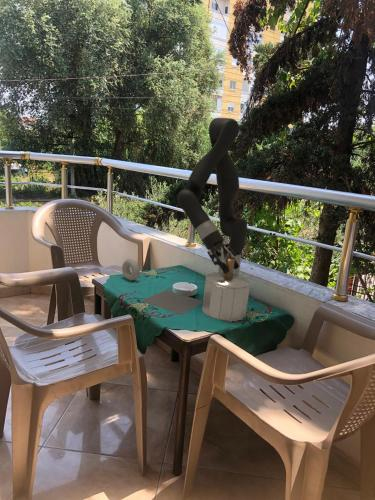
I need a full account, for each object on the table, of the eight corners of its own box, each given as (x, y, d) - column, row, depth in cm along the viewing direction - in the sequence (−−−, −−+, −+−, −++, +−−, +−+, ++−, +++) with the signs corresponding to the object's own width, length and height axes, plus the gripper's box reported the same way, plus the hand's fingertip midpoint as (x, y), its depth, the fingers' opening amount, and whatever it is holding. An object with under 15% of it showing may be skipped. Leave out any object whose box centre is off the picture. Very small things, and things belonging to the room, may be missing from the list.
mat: (166, 291, 176) (166, 289, 176) (204, 303, 167) (204, 301, 167) (140, 302, 161) (140, 300, 161) (180, 316, 152) (180, 314, 152)
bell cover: (215, 301, 170) (221, 250, 165) (251, 312, 162) (259, 259, 156) (194, 312, 156) (200, 257, 151) (233, 325, 148) (241, 268, 143)
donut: (119, 277, 187) (121, 256, 184) (125, 276, 189) (127, 255, 187) (134, 284, 181) (135, 262, 178) (140, 282, 183) (141, 261, 181)
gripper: (207, 231, 149) (231, 269, 146) (225, 227, 161) (247, 261, 158) (193, 242, 153) (216, 279, 150) (211, 237, 165) (233, 271, 162)
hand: (232, 270), depth 154 cm, fingers open, 8 cm apart
